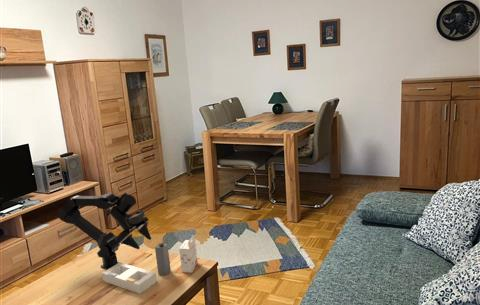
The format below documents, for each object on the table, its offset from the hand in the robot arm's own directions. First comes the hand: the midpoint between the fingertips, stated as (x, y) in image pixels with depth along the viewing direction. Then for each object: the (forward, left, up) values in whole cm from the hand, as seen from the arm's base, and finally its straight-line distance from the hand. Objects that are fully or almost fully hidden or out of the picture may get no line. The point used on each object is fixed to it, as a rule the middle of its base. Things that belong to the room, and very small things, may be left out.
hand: (144, 244), depth 173 cm
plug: (+8, +2, -13) cm, 15 cm away
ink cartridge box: (+16, +10, -13) cm, 23 cm away
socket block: (-1, -10, -13) cm, 17 cm away
